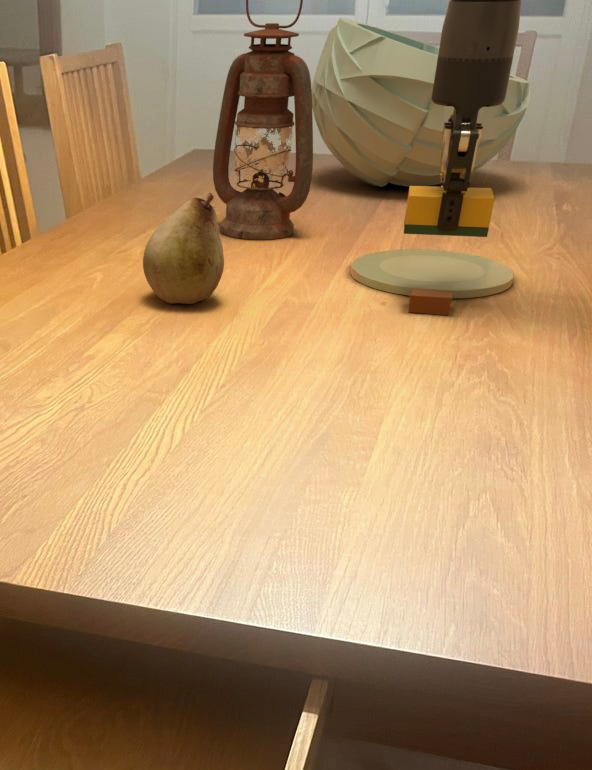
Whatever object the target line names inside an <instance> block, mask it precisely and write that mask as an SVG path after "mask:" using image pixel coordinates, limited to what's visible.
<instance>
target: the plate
mask: <svg viewBox="0 0 592 770" xmlns="http://www.w3.org/2000/svg"><path fill="white" fill-rule="evenodd" d="M350 268H351V269H350V275H351V277H352V278H353V279H354V280H355V281H357V282H359V284H362V285H364V286H366V287H369V288H372V289H375V290H379V291H383V292H387V293H390V294H396V295H401V296H408V297H410V295H411V289H412V288H419V289H434V290H450V291H452V300H453V299H471V298H472V299H473V298H482V297H488V296H492V295H495V294H496V295H497V294H500V293H502V292H505V291H507V290H508V289H509V288H510V287H512V285H513V281H514V277H515V273H514V272H513V270H512V269H511V268H510V267H509V266H507V265H505V264H503V263H501V262H499V261H496V260H494V259H490V258H487V257H483V256H479V255H475V254H470V253H464V252H457V251H448V250H440V249H439V250H438V249H419V248H418V249H417V248H416V249H415V248H413V249H412V248H409V249H406V248H405V249H391V250H382V251H381V250H380V251H375V252H371V253H366V254H363V255H360V256H358V257H357V258H355V259H354V260H353V261H352V263H351V266H350Z"/></svg>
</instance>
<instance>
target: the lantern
mask: <svg viewBox="0 0 592 770" xmlns="http://www.w3.org/2000/svg"><path fill="white" fill-rule="evenodd" d="M299 1H300V2H299V8H298V12H297V15H296V17H295V19H294V20H293V22H291V23H290V24H288V25H280V24H279V23H278V22H268V23H265V24H258V23H255V22H254V21H253V20H252V18H251V16H250V12H249V10H250V9H249V0H245V13H246V17H247V20H248V21H249V24H251V25H252V26H253V27H255V28H261V29H258V30H253V31H249V32H244V34H243V37H246V38H250V46H248V49H249V50H251V51H248V52H245V53H242V54H240V55H238V56H237V57H235V59H234V60H233V61H232V63H231V65H230V67H229V69H228V72H227V76H226V80H225V83H224V84H225V85H224V89H223V95H222V100H221V105H220V111H219V118H218V124H217V130H216V136H215V143H214V150H213V151H214V152H213V161H212V181H213V185H214V191H215V192H216V194H217V196H218V198H219V199H220V200H221V202H223V203H224V204H225V206H226V207H225V217H224V218H223V220H222V221H221V222H220V224H219V232H220V233H221V234H222V235H224V236H227V237H231V238H234V239H240V240H241V239H242V240H255V241H269V240H278V239H283V238H287V237H290V236H292V235H293V234H294V228H295V224H294V223H293V221H292V220H291V218H290V217H291V213H294V212H296V211H297V210H299V209H300V208H301V207H302V206H303V205H304V203H305V202H306V201H307V198H308V195H309V193H310V191H311V185H312V180H313V167H314V126H313V125H314V124H313V122H314V121H313V118H314V117H313V108H312V80H311V73H310V70H309V67H308V65H307V62H305V60H304V59H303V58H302V57H300V56H299V55H295V53H294V52H292V51H291V50H292V49H293V46H292V45H291V42H292V38H297V37H299V36H300V33H299V32H295V31H291V30H285V29H289V28H292V27H293V26H294V25H295V24H296V23H297V22H298V20H299V18H300V16H301V12H302V10H303V9H302V8H303V3H304V0H299ZM255 39H260V40H259V41H260V42H259V43H256V44H255ZM268 39H269V40H275V43H267V40H268ZM282 39H287V44H285V43H282ZM240 97H243V98H244V99H243V108H242V109H241V110H240V111H238V107H239V103H240ZM291 97H293V100H294V113H293V112H292V111H291V110H290V109H289V101H290V100H289V98H291ZM235 126H236V131H235ZM262 129H263V130H266V131H265V132H266V133H265V132H262V133H260V134H259V132H258V131H259V130H262ZM293 129H295V130H293ZM234 131H235V133H234ZM294 132H295V168H294V169H295V171H293V169H288V166H289V161H290V156H291V151H292V142H293V135H294V134H293V133H294ZM234 134H235V137H234V139H237V138H238V139H239V141H240V142H241V144H238V143H236V142H237V141H234V148H233V153H234V164H235V165H234V166H235V169H234V170H233V171H234V172H235V175H237V176H238V181H237V183H236V186H237V187H238V188H241V189H244V190H243V191H239V190H237V189H236V188H234V187H233V186H232V185H231V184H232V183H231V181H230V176H229V174H230V173H229V171H230V170H229V169H230V166H229V165H230V157H231V149H232V142H233V136H234ZM269 135H274V136H275V135H279V136H278V138H276V141H280V144H279V145H277V147H278V148H277V147H276V146H275V147H274V142H273V141H272V140H271V141H270V139H268V138H270V136H269ZM289 141H291V142H289ZM287 142H288V144H287ZM280 166H281V167H280ZM265 168H267V169H265ZM279 168H281V169H280V170H279ZM241 171H242V172H241ZM275 172H276V174H274V173H275ZM278 172H279V175H278V174H277V173H278ZM284 172H286V173H284ZM242 173H243V175H244V176H245V177H247V178H245V179H243V180H241V174H242ZM251 174H252V175H251ZM273 176H274V177H279V178H281V180H280V181H279V179H276V178H275V179H276V180H272V179H273ZM286 177H287V182H288V183H293V186H292V188H291V191H290V193H289V194H288V195H285V194H284V193H282V192H281V191H279V192H277V191H275V190H276V189H281V188H283V187H284V185H285V184H284V180H285V178H286ZM241 183H247V186H245V185H243V184H241ZM270 183H276V184H278V185H279V186H278V185H275V186H273V187H272V186H270ZM240 184H241V185H240ZM248 186H249V187H248Z"/></svg>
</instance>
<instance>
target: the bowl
mask: <svg viewBox="0 0 592 770" xmlns="http://www.w3.org/2000/svg"><path fill="white" fill-rule="evenodd" d="M438 53H439V47H438V46H435V45H433V44H429V43H426V42H422V41H420V40H417V39H414V38H411V37H408V36H405V35H402V34H399V33H397V32H392V31H390V30H386V29H384V28H380V27H377V26H373V25H371V24H366V23H364V22H361V21H356V20H352V19H348V18H342V17H339V18H338V20H337V22H336V25H335V26H333V27H332V28H331V29H330V30H329V32H328V34H327V37H326V40H325V42H324V45H323V48H322V50H321V53H320V56H319V59H318V62H317V66H316V69H315V73H314V75H313V79H312V82H311V89H312V114H313V116H314V117H313V118H314V120H315V123H316V126H317V130H318V132H319V134H320V138H321V139H322V141H323V143H324V144H325V146H326V147H327V149H328V150H329V151H330V153H331V155H333V157H334V158H335V159H336V160H337V161H338V162H339V163H340V164H341V165H342V166H343V167H344V168H345V169H346V170H347V171H348V172H349V173H350V174H351V175H353V176H355V177H356V178H358V179H359V180H360V181H363V182H364V183H366V184H368V185H370V186H373V187H377V186H378V187H385V186H387V185H388V184H393V185H397V186H402V187H403V186H404V187H410V186H436V185H441V183H443V182H441V178H440V174H441V163H440V157H441V150H442V145H443V143H442V133H443V127H444V122H448V120H449V118H450V115H453V111H454V107H452V106H441V105H437V104H435V103H433V101H432V92H433V85H434V79H435V72H436V66H437V59H438ZM530 102H531V87H530V82H529V81H528V80H526V79H524V78H521V77H519V76H517V75H514V74H512V73H510V76H509V81H508V87H507V92H506V97H505V100H504V102H503V103H502V104H500V105H498V106H492V107H482V108H481V109H480V110H479V111H478V117H477V123H482V126H483V131H482V137H481V140H480V143H479V145H478V147H477V154H476V160H475V166H474V169H473V171H472V172H471V173H473V172H475V171H476V170H479V169H480V168H481V167H483V166H484V165H486V164H487V163H488V162H490V161H491V160H493V158H495V156H497V155H498V154H499V153H500V152H501V151H502V150H503V149H504V148H505V147H506V146H507V144H508V143H509V141H510V140H511V139H512V137H513V136H514V135H515V133H516V131H517V129H518V127H519V126H520V124H521V122H522V120H523V118H524V116H525V114H526V111H527V108H528V107H529V104H530Z"/></svg>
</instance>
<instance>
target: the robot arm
mask: <svg viewBox="0 0 592 770" xmlns="http://www.w3.org/2000/svg"><path fill="white" fill-rule="evenodd" d="M521 7H522V0H449V1H448V4H447V9H446V13H445V16H444V20H443V24H442V28H441V34H440V39H439V47H438V48H439V53H438V59H437V66H436V72H435V79H434V85H433V92H432V101H433V103H435V104H437V105H441V106H452V107H454V111H453V115H450V118H449V120H448V122H444V127H443V133H442V143H443V145H442V150H441V157H440V163H441V174H440V178H441V182H443V183H441V184H440V187H441V190H442V199H441V205H440V211H439V217H438V223H437V228H438V230H439V231H455V230H457V228H458V224H459V218H460V213H461V207H462V202H463V196H464V195H465V193H466V191H467V189H468V188H470V185H471V184H470V178H471V174H472V173H473V172H474V171H473V169H474V166H475V160H476V154H477V147H478V145H479V143H480V140H481V137H482V131H483V126H482V123H477V117H478V111H479V110H480V109H481V108H482V107H492V106H498V105H500V104H502V103H503V102H504V100H505V97H506V92H507V87H508V81H509V76H510V74H511V71H512V65H513V60H514V56H515V55H514V54H515V50H516V45H517V39H518V34H519V28H520V20H521ZM472 171H473V172H472Z"/></svg>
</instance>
